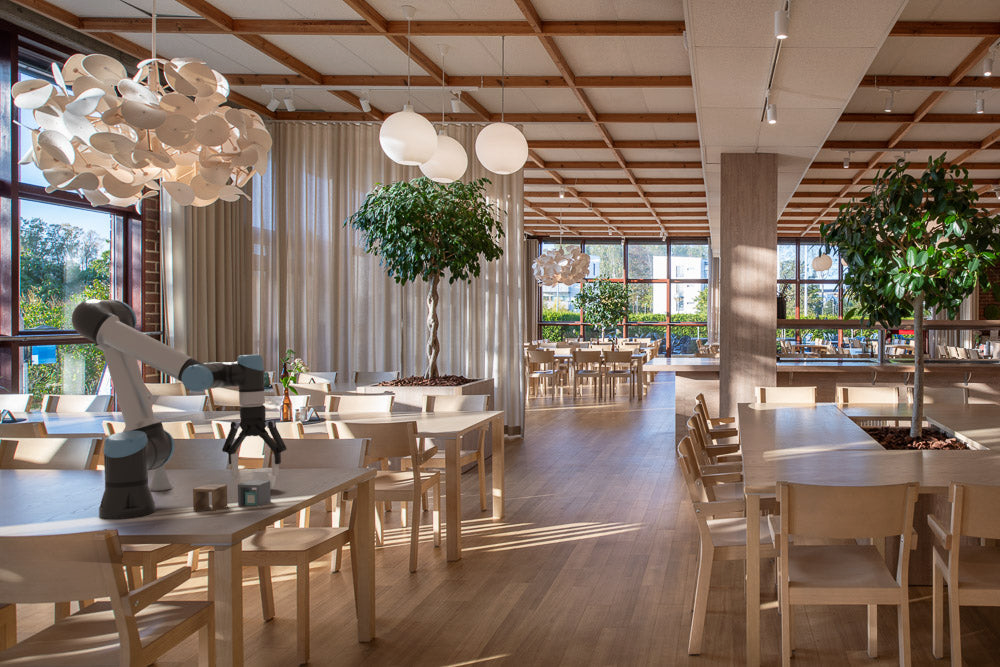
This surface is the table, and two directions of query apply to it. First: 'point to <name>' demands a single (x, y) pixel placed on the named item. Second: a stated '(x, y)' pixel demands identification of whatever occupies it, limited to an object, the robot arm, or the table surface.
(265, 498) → the box
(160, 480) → the flask
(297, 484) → the table surface
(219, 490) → the cover walnut
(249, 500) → the letter cube
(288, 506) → the table surface
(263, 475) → the cup
